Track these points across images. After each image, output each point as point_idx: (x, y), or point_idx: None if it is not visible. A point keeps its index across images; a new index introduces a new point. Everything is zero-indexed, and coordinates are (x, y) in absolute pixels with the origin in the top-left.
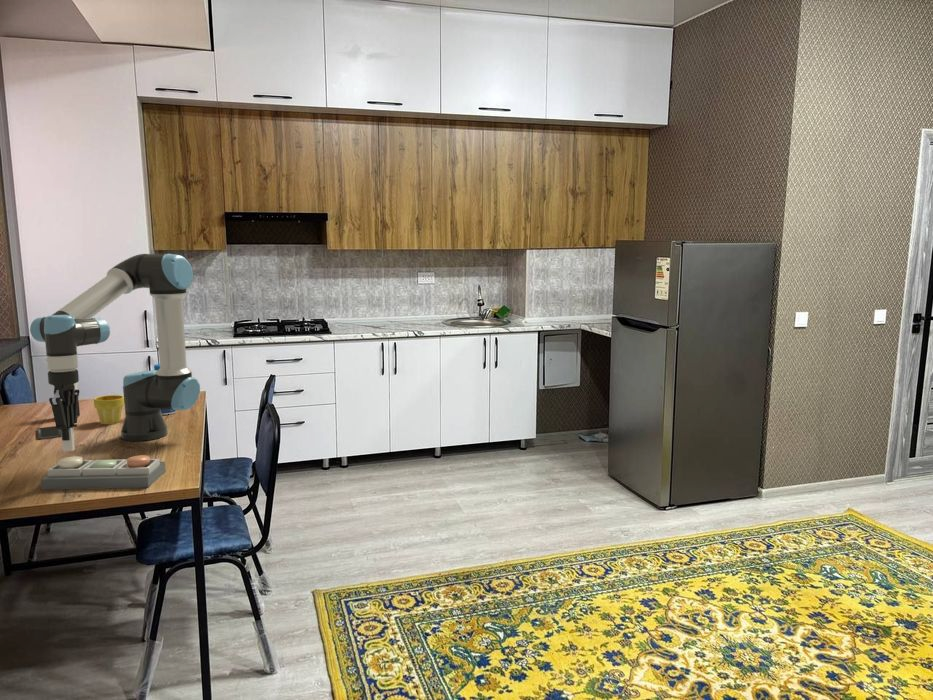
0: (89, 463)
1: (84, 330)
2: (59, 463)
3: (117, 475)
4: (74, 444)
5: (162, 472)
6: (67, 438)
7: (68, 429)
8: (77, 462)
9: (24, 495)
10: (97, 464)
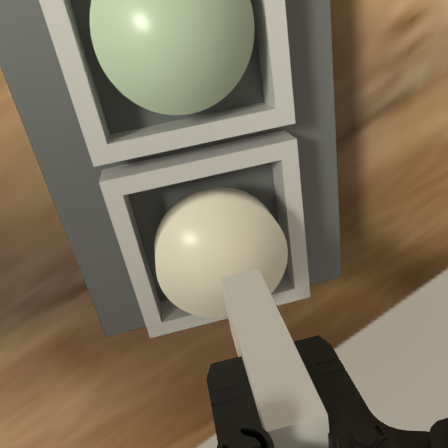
0: (160, 167)
1: None
2: (273, 283)
3: None
4: (229, 301)
5: None
6: (328, 348)
7: (330, 427)
8: (244, 200)
9: (382, 266)
10: (221, 64)
